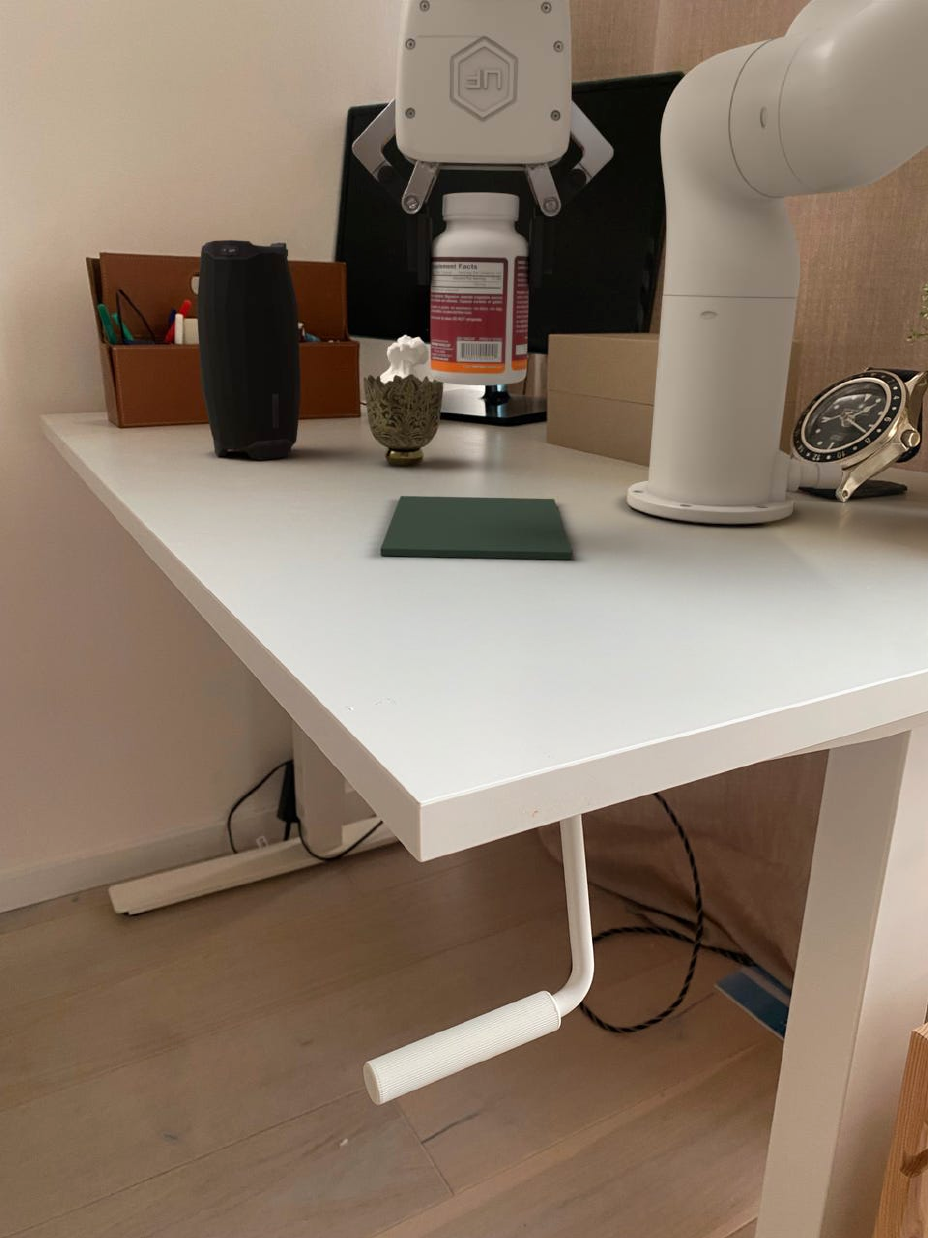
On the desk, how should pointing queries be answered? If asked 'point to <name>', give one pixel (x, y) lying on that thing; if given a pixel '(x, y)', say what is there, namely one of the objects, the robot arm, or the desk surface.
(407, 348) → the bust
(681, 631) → the desk surface
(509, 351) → the pill bottle
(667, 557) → the desk surface
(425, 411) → the cup
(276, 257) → the portable speaker
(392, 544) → the desk mat
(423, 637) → the desk surface
